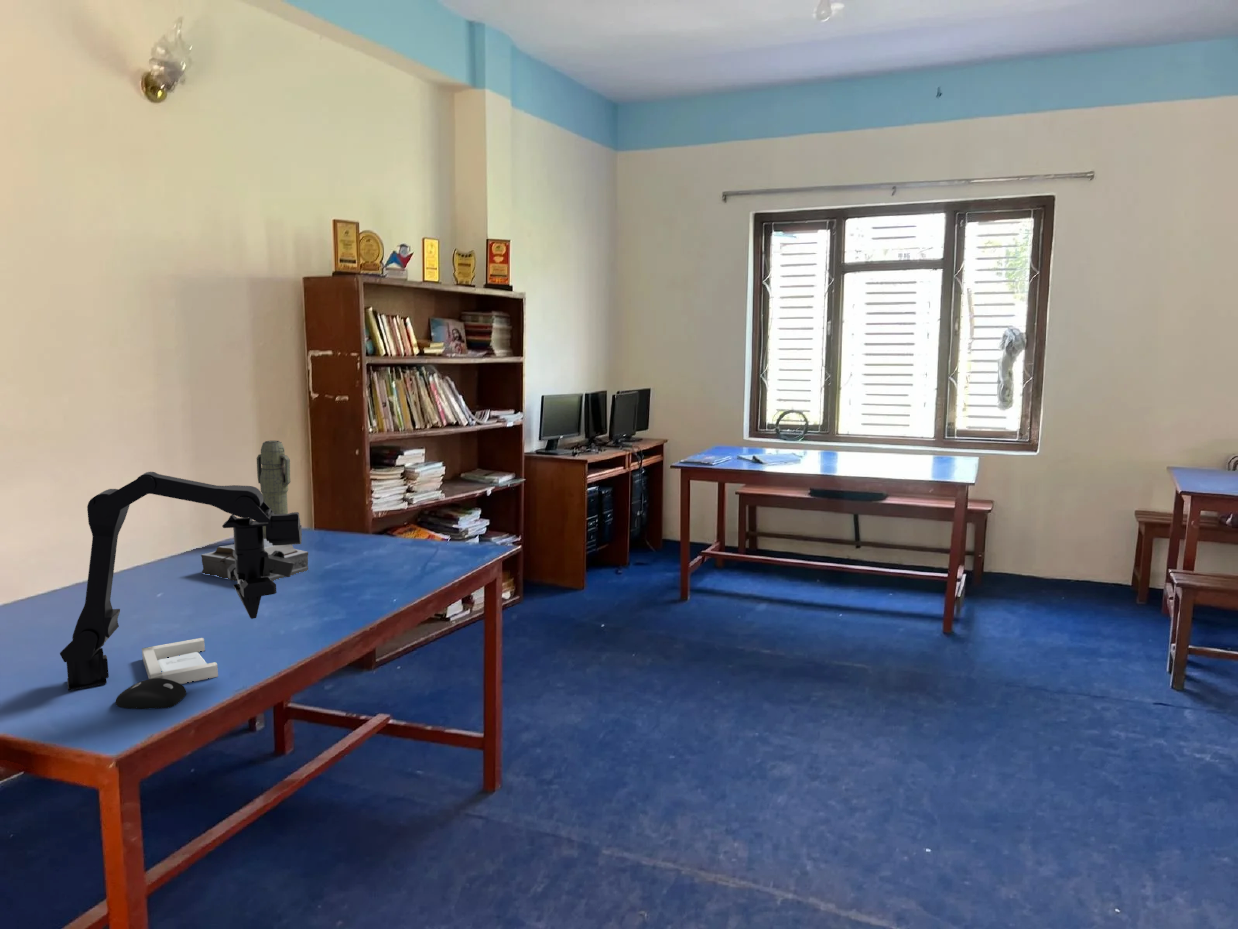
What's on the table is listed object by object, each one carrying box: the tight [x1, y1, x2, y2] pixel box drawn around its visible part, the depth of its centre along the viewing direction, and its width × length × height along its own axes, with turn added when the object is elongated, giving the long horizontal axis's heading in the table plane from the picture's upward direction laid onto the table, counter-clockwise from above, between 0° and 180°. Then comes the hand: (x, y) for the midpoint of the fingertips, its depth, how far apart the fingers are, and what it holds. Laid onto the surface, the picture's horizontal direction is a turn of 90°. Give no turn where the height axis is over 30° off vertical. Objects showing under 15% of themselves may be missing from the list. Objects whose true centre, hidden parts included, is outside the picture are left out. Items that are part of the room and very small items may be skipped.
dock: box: [141, 637, 219, 685], centre depth 172 cm, size 12×19×2 cm, turn 35°
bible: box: [200, 539, 309, 582], centre depth 244 cm, size 23×27×10 cm
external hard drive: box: [157, 652, 208, 672], centre depth 172 cm, size 2×8×12 cm
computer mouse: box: [115, 678, 187, 710], centre depth 156 cm, size 8×12×4 cm, turn 95°
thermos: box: [256, 440, 291, 539], centre depth 282 cm, size 9×12×35 cm
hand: (253, 618), depth 172 cm, fingers closed
